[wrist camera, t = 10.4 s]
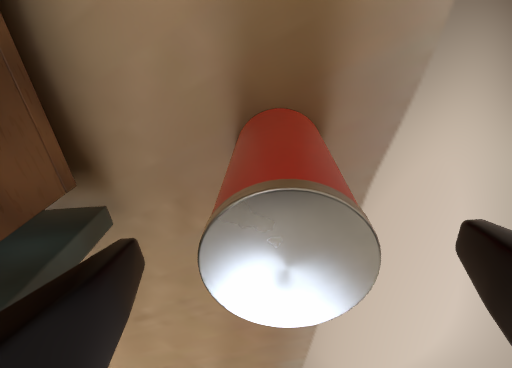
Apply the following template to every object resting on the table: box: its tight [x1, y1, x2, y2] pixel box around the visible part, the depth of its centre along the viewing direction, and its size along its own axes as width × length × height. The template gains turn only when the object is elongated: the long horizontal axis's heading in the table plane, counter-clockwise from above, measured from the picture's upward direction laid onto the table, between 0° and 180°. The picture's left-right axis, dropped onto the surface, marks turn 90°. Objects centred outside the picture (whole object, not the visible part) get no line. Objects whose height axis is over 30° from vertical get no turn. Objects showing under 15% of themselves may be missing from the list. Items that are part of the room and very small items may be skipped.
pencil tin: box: [198, 108, 381, 328], centre depth 10 cm, size 4×4×8 cm
